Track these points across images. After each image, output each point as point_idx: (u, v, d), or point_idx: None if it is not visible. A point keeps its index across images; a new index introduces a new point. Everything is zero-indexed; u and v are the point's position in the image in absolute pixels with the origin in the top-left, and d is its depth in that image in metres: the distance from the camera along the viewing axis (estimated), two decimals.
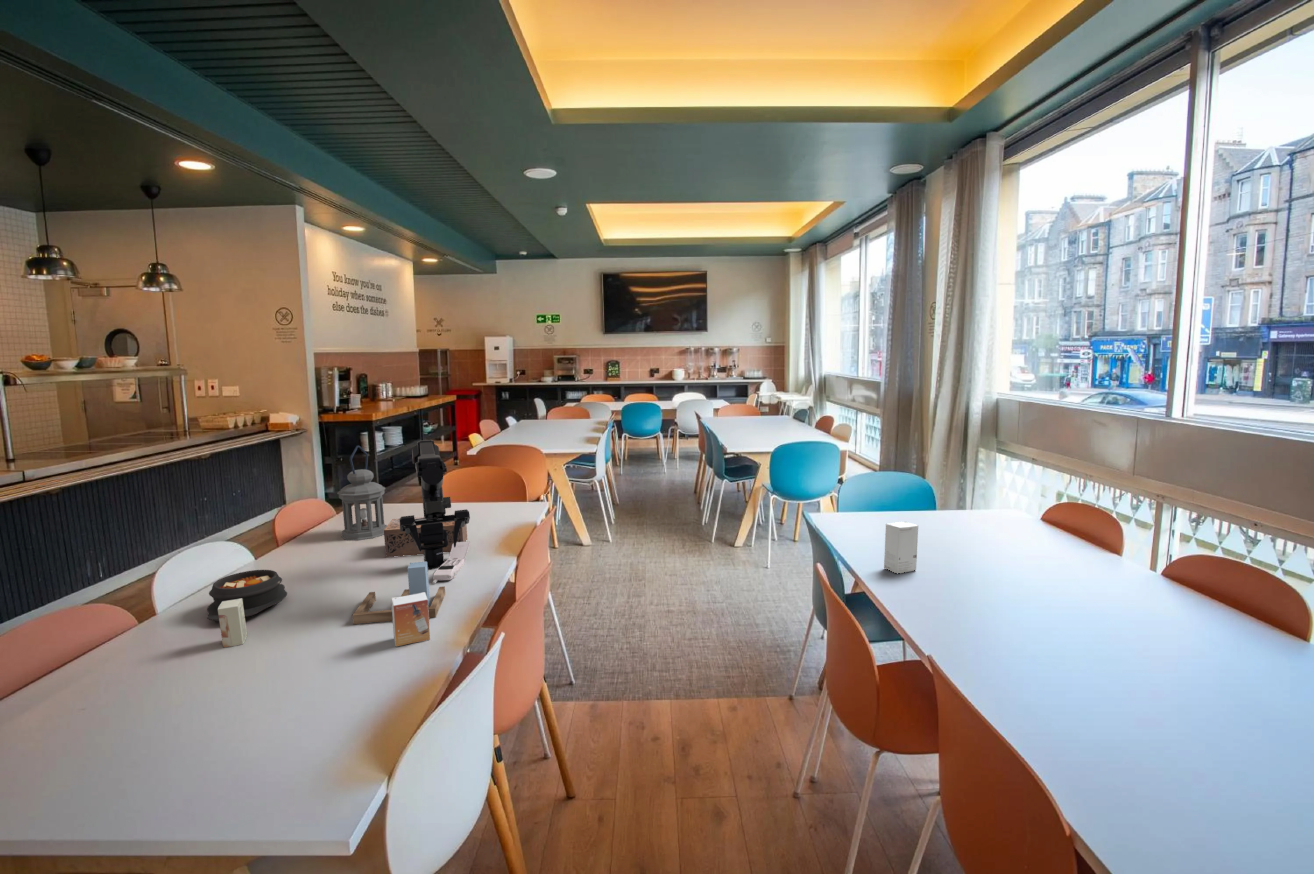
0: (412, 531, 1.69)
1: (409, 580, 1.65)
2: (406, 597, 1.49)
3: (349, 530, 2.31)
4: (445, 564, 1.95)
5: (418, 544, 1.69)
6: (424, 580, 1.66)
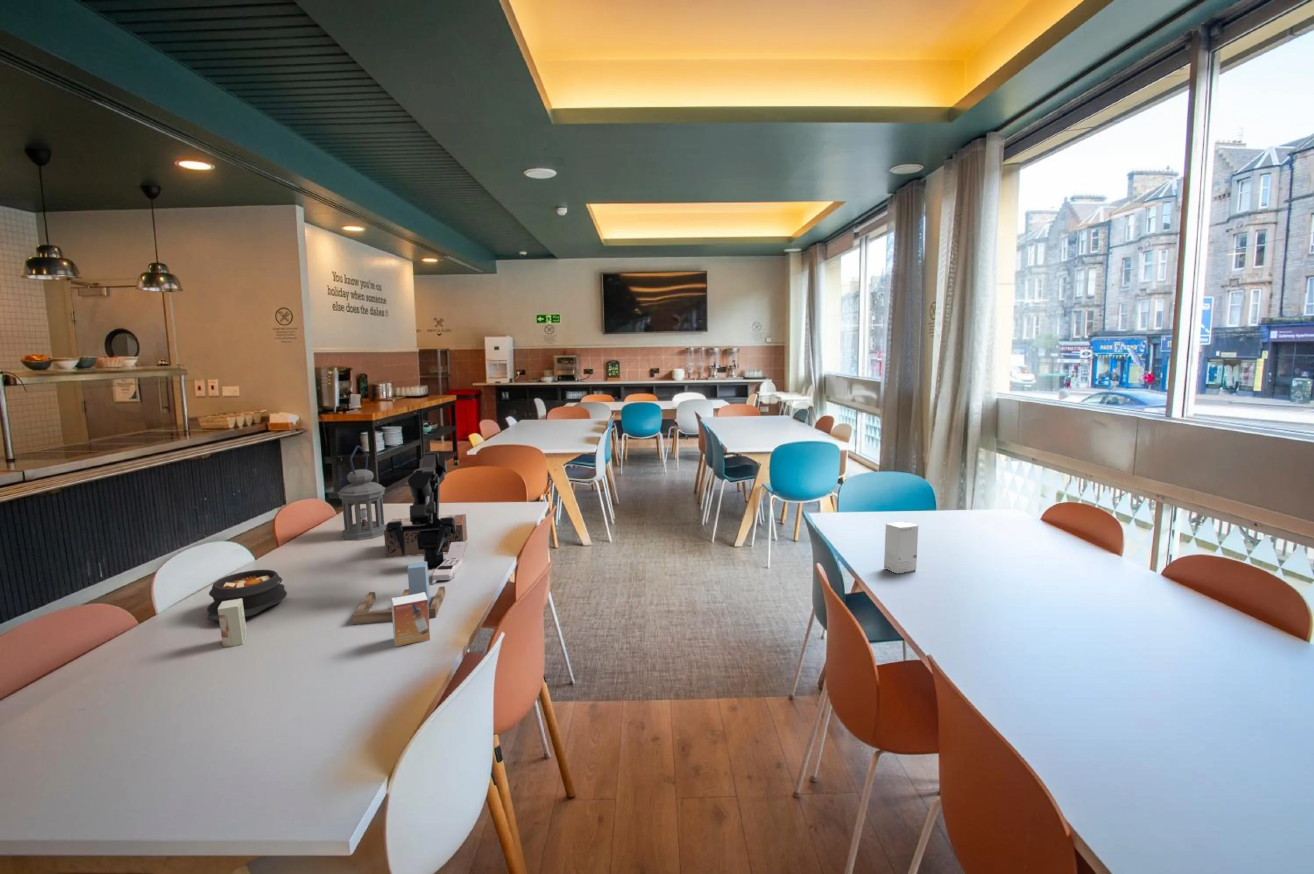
0: (397, 535, 1.74)
1: (409, 580, 1.65)
2: (406, 597, 1.49)
3: (349, 530, 2.31)
4: (444, 564, 1.95)
5: (402, 548, 1.73)
6: (424, 580, 1.66)
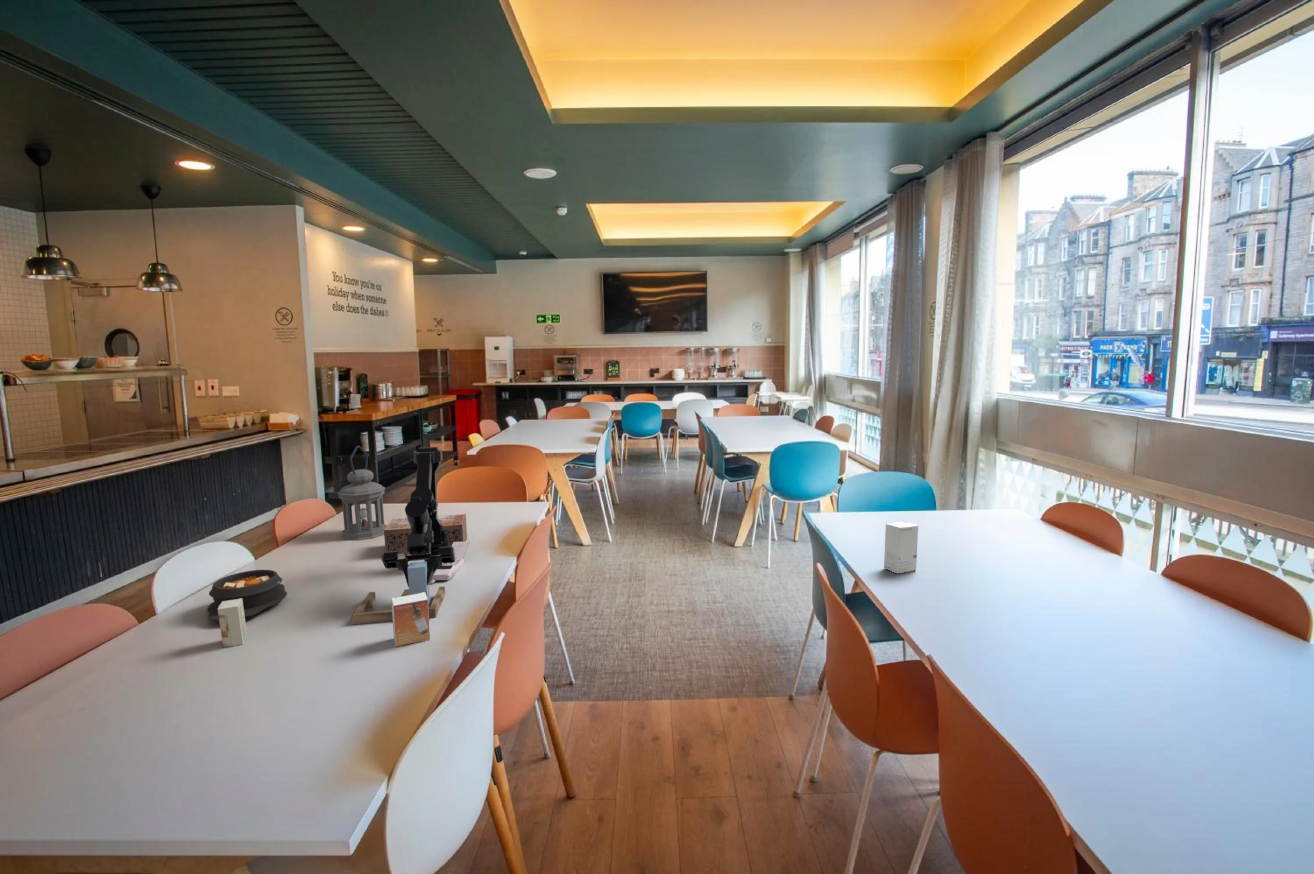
0: (402, 565, 1.67)
1: (409, 580, 1.65)
2: (406, 597, 1.49)
3: (349, 530, 2.31)
4: (444, 564, 1.95)
5: (407, 578, 1.66)
6: (424, 580, 1.66)
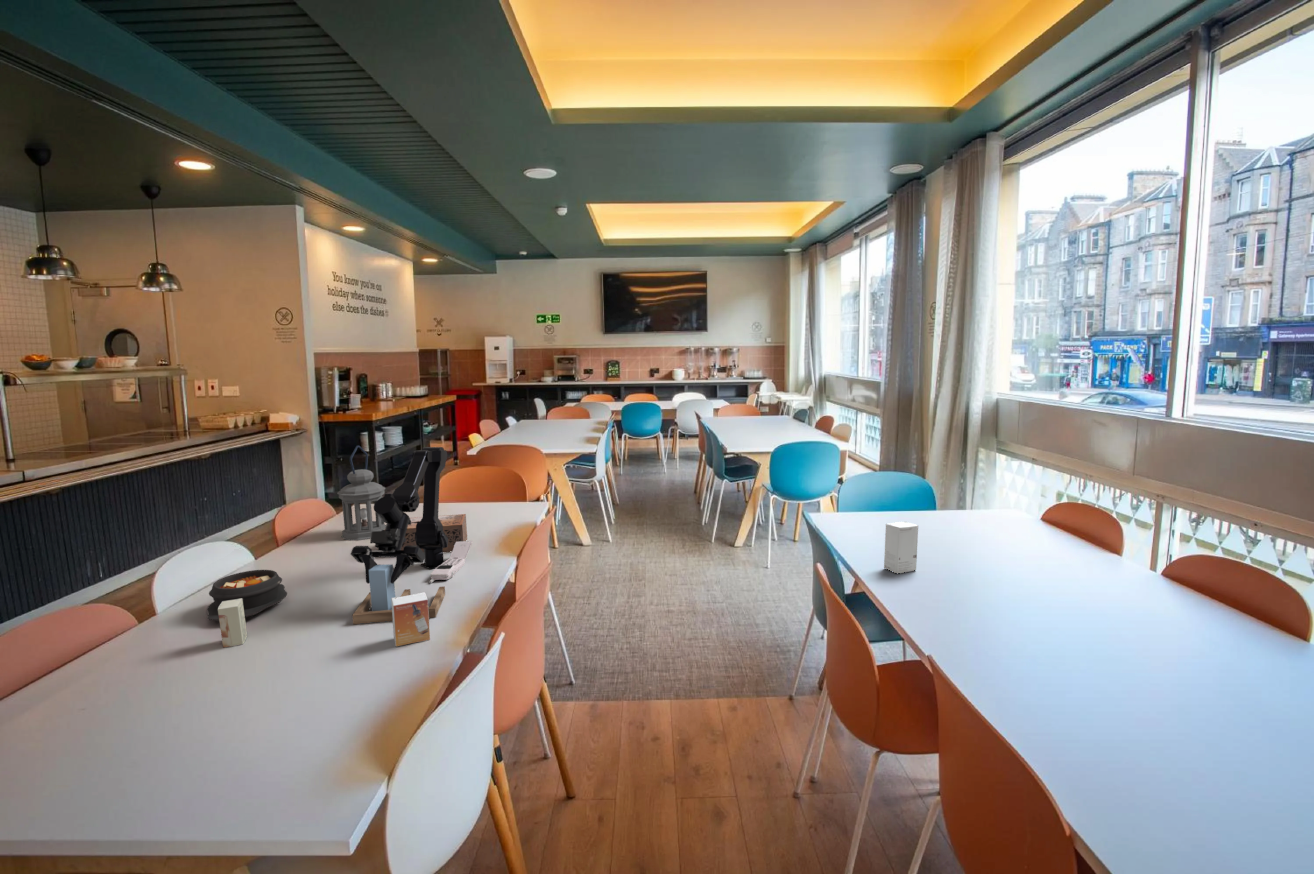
0: (365, 561, 1.67)
1: (370, 582, 1.64)
2: (406, 597, 1.49)
3: (349, 530, 2.31)
4: (445, 563, 1.95)
5: (367, 575, 1.65)
6: (384, 584, 1.63)
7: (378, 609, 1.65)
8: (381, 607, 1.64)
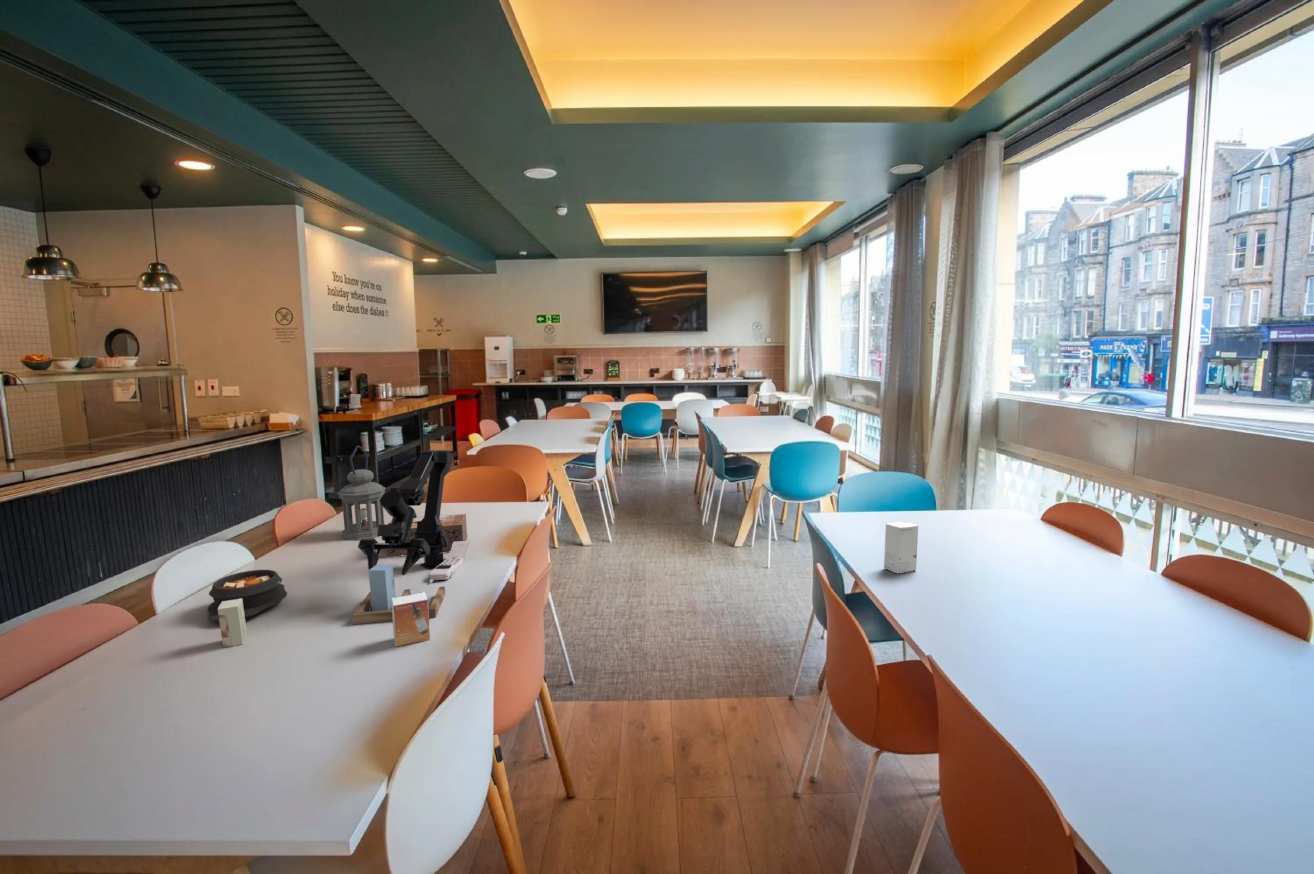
0: (367, 553, 1.70)
1: (370, 582, 1.64)
2: (406, 597, 1.49)
3: (349, 530, 2.31)
4: (443, 563, 1.95)
5: (369, 567, 1.69)
6: (384, 584, 1.63)
7: (378, 609, 1.65)
8: (381, 607, 1.64)
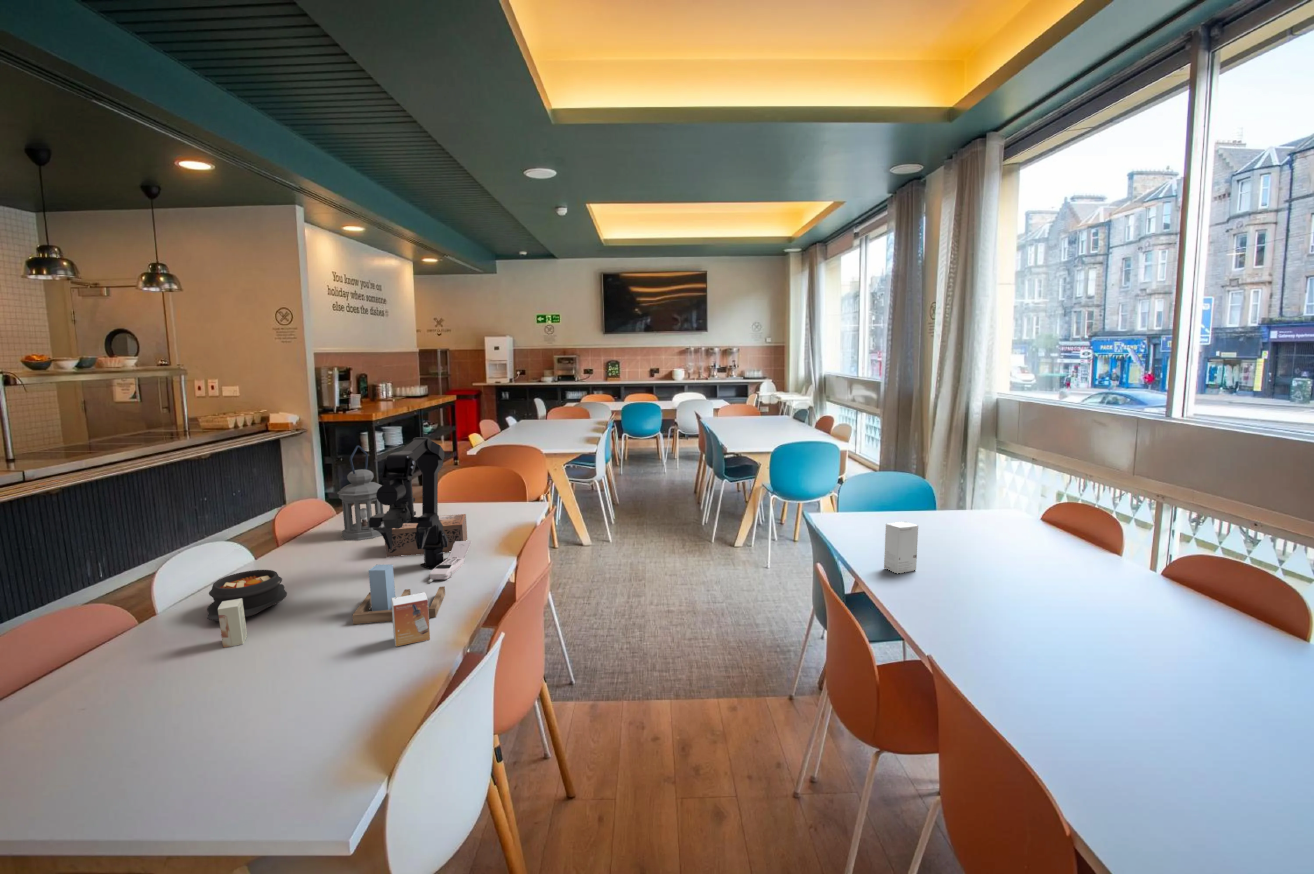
0: (380, 532, 1.75)
1: (370, 582, 1.64)
2: (406, 597, 1.49)
3: (349, 530, 2.31)
4: (444, 563, 1.96)
5: (387, 543, 1.77)
6: (384, 584, 1.63)
7: (378, 609, 1.65)
8: (381, 607, 1.64)
